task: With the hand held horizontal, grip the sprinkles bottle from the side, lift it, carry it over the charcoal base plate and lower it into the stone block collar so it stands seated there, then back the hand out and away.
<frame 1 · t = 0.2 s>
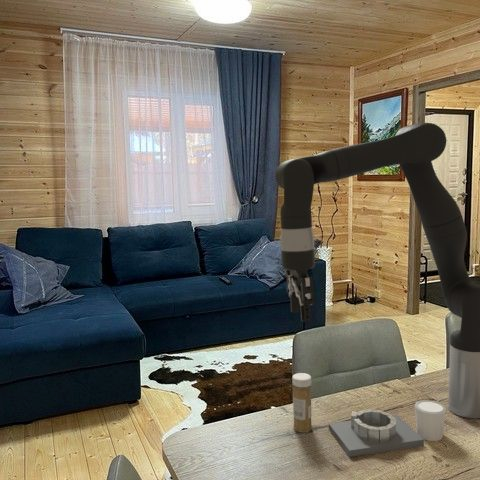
hand: (300, 316, 112), 29 cm above the table, tool pointing down, fingers open, 8 cm apart
socket plate: (374, 437, 113), on the table
stone block collar: (374, 425, 113), on the socket plate, point 3 cm above the table
sprinkles bottle: (302, 429, 118), on the table
white tapered cup: (429, 435, 114), on the table
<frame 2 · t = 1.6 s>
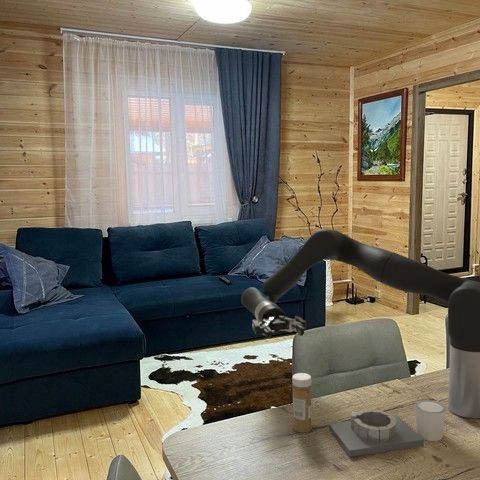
hand: (286, 333, 127), 20 cm above the table, tool horizontal, fingers open, 8 cm apart
nothing on the table moved.
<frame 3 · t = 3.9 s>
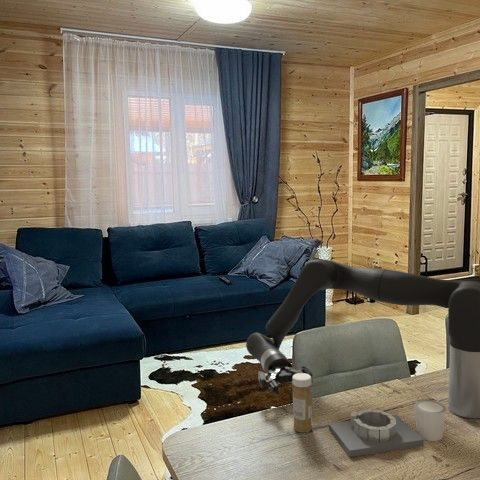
hand: (292, 388, 125), 7 cm above the table, tool horizontal, fingers open, 8 cm apart
nothing on the table moved.
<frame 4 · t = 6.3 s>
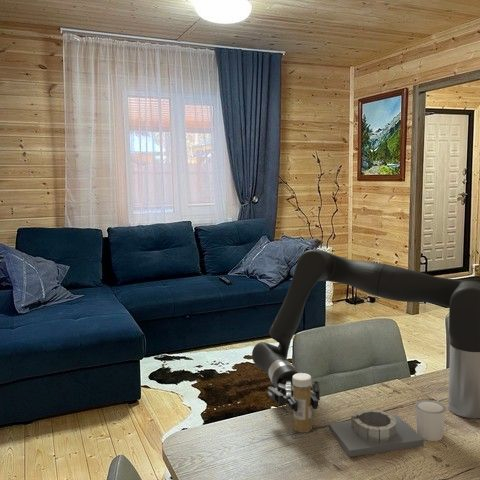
hand: (306, 406, 114), 7 cm above the table, tool horizontal, fingers closed on sprinkles bottle, 4 cm apart
sprinkles bottle: (302, 429, 118), on the table, touching gripper
everything else where it was.
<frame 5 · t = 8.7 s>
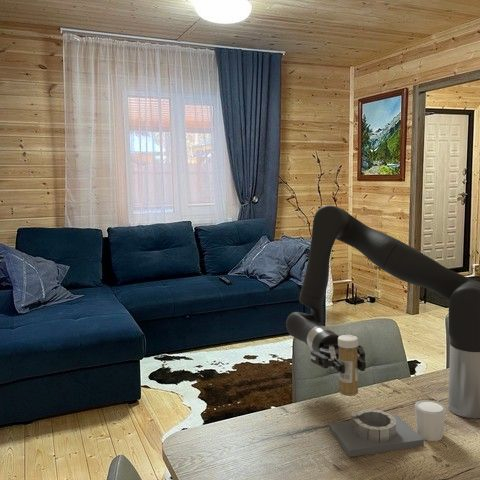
hand: (353, 368, 110), 18 cm above the table, tool horizontal, fingers closed on sprinkles bottle, 4 cm apart
sprinkles bottle: (348, 393, 113), point 10 cm above the table, touching gripper
everything else where it was.
when the fingers open (10 cm above the table, at t = 11.4 s): sprinkles bottle drops 1 cm, resting on socket plate.
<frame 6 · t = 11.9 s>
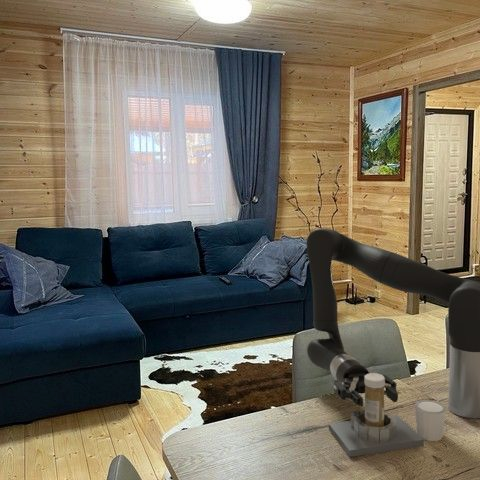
hand: (378, 400, 110), 10 cm above the table, tool horizontal, fingers open, 8 cm apart
sprinkles bottle: (374, 431, 113), point 1 cm above the table, touching socket plate
everything else where it was.
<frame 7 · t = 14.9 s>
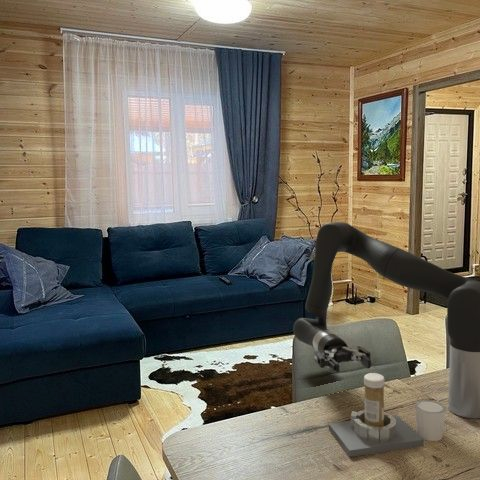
hand: (353, 366, 123), 13 cm above the table, tool horizontal, fingers open, 8 cm apart
nothing on the table moved.
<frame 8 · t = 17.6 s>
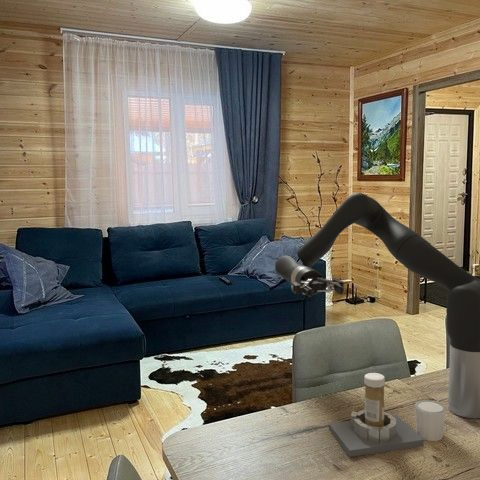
hand: (326, 292, 130), 30 cm above the table, tool horizontal, fingers open, 8 cm apart
nothing on the table moved.
at the end: sprinkles bottle 0.1 cm off-centre on the socket plate, point 1.3 cm above the socket plate's base; sprinkles bottle tilted 0°; the gripper is holding nothing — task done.
